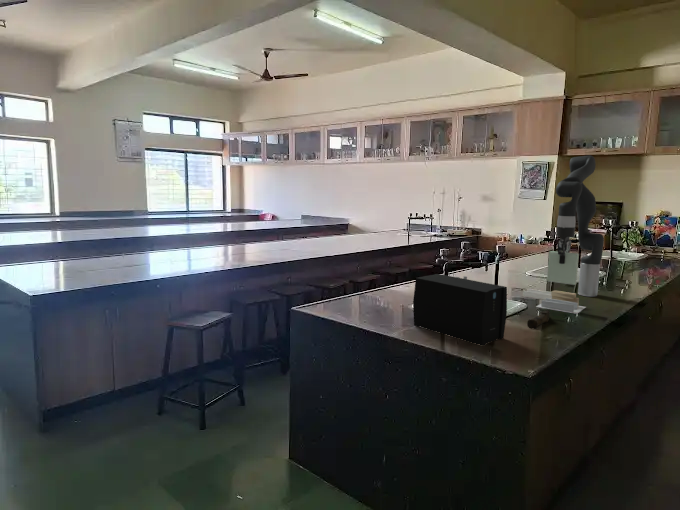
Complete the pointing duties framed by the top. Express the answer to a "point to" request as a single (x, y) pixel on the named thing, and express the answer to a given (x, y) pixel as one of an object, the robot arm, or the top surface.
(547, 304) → the grey rack
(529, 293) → the white stand
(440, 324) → the uninterruptible power supply
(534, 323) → the hand tool
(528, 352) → the top surface
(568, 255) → the sage board
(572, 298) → the offcut stack
